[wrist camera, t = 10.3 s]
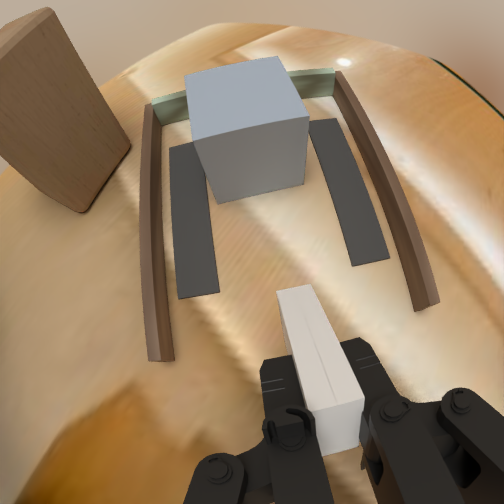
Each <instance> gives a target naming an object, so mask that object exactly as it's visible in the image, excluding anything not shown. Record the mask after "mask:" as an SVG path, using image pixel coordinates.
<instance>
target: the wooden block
mask: <svg viewBox="0 0 504 504" xmlns="http://www.w3.org/2000/svg"><path fill="white" fill-rule="evenodd" d="M129 147H130V140H129V138H128V137H127V135H126V134H125V132H124V130H123V129H122V127H121V126H120V124H119V122H118V121H117V119H116V117H115V116H114V114H113V113H112V111H111V109H110V108H109V106H108V104H107V103H106V101H105V99H104V98H103V96H102V94H101V93H100V91H99V89H98V88H97V86H96V84H95V83H94V81H93V79H92V78H91V76H90V74H89V73H88V71H87V69H86V67H85V66H84V64H83V62H82V60H81V59H80V57H79V55H78V53H77V52H76V50H75V48H74V47H73V45H72V43H71V41H70V39H69V38H68V36H67V34H66V32H65V30H64V28H63V27H62V25H61V23H60V21H59V19H58V17H57V16H56V14H55V12H54V11H53V10H52V9H51V8H49V7H45V8H42V9H39V10H36V11H34V12H32V13H30V14H27V15H25V16H23V17H21V18H18V19H16V20H14V21H12V22H10V23H8V24H6V25H5V26H4V27H3V28H1V29H0V155H1V157H2V158H4V159H5V160H6V161H7V162H8V163H9V164H10V165H11V166H12V167H13V168H14V169H16V170H17V171H18V172H19V173H20V174H21V175H22V176H23V177H25V178H26V179H27V180H28V181H29V182H30V183H31V184H33V185H34V186H35V187H36V188H37V189H38V190H40V191H41V192H43V193H44V194H46V195H48V196H49V197H51V198H53V199H55V200H56V201H58V202H60V203H62V204H63V205H65V206H67V207H69V208H70V209H72V210H74V211H76V212H84V211H85V210H87V209H88V207H89V206H90V204H91V203H92V201H93V199H94V198H95V196H96V195H97V193H98V192H99V190H100V189H101V187H102V186H103V184H104V183H105V181H106V180H107V179H108V177H109V176H110V174H111V173H112V171H113V170H114V169H115V167H116V166H117V164H118V163H119V162H120V160H121V159H122V158H123V156H124V155H125V154H126V152H127V151H128V150H129Z"/></svg>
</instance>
